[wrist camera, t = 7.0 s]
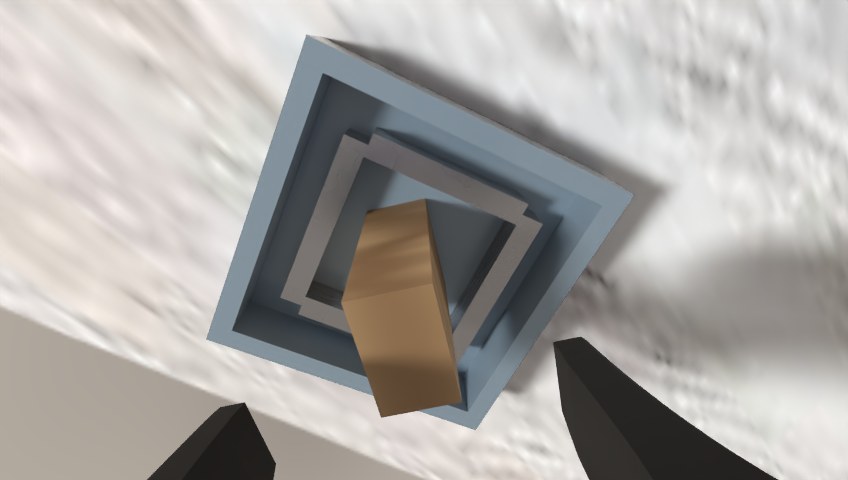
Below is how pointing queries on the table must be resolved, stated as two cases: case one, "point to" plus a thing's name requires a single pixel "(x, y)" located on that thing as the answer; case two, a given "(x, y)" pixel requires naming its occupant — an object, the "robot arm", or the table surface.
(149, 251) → the table surface
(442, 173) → the grey square frame
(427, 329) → the block
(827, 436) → the table surface
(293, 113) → the blue-grey square tray
